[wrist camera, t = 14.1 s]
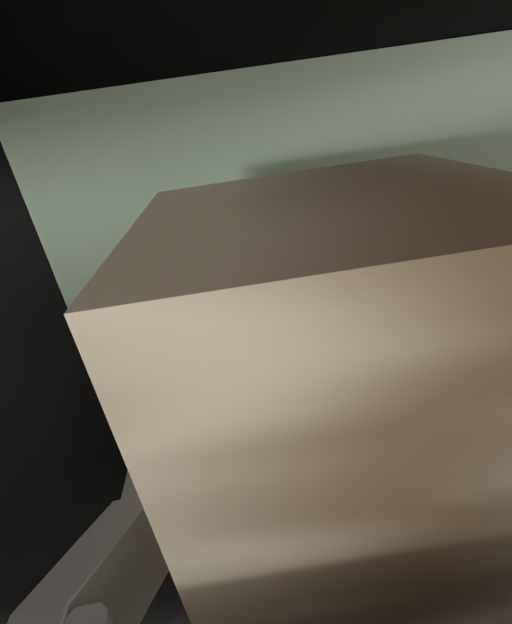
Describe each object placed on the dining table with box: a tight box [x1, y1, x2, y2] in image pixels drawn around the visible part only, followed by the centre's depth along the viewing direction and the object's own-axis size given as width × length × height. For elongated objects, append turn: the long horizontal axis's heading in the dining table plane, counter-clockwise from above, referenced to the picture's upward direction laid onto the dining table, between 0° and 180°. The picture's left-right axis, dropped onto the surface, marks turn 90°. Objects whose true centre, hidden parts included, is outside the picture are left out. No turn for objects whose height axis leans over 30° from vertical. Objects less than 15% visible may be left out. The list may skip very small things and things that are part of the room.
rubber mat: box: [0, 30, 512, 308], centre depth 12 cm, size 12×16×1 cm
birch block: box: [64, 153, 512, 624], centre depth 8 cm, size 5×5×12 cm
